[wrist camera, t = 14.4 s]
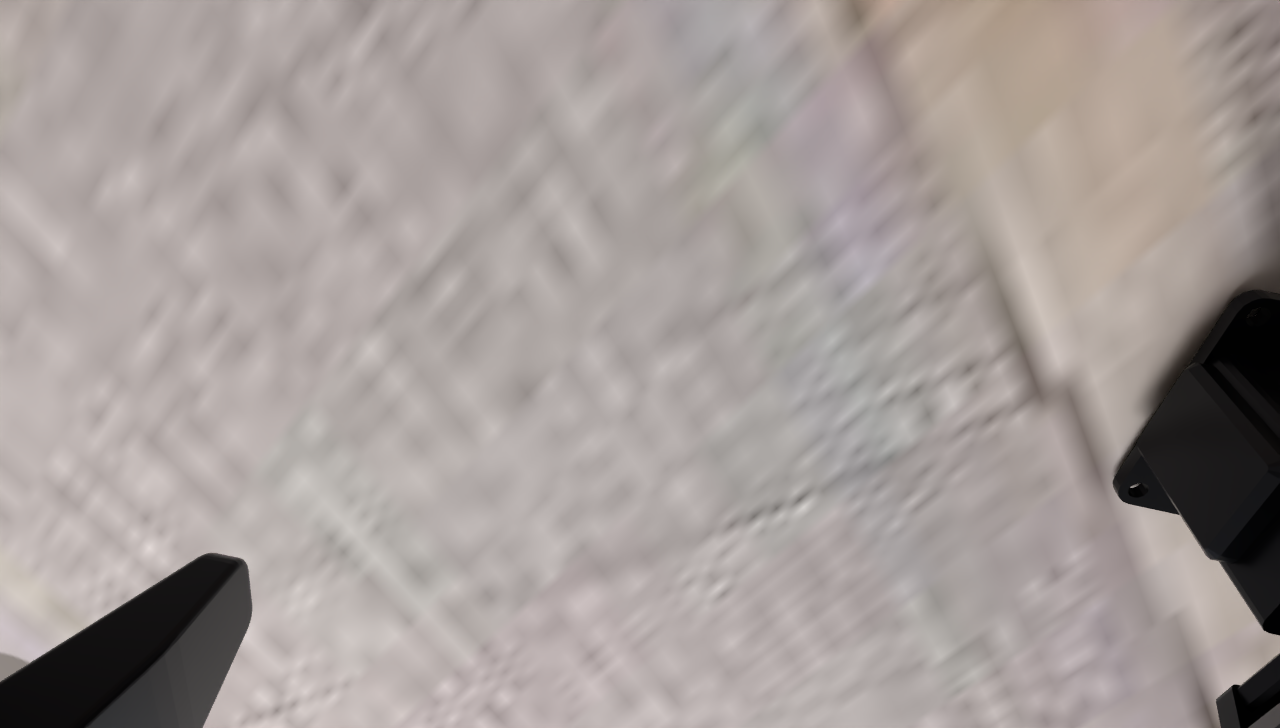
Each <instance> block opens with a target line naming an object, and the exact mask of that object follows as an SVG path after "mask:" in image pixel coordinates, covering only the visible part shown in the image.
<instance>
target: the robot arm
mask: <svg viewBox="0 0 1280 728" xmlns="http://www.w3.org/2000/svg"><path fill="white" fill-rule="evenodd" d="M1256 308H1261V310H1260V312H1259V313H1258V314H1257V315H1255V316H1253V317H1251V318H1247V315H1248V314H1249V313H1250V312H1251V311H1252V310H1254V309H1256ZM1137 483H1141V484H1140V485H1139V486H1137V487H1134V488H1130V487H1131V486H1132V485H1134V484H1137ZM1113 488H1114V489H1115V491H1116V493H1117V495H1118V496H1119V498H1120V499H1121V500H1122V501H1123V502H1125V503H1128V504H1132V505H1136V506H1141V507H1146V508H1150V509H1155V510H1159V511H1164V512H1169V513H1173V514H1178V515H1180V516H1181V517H1182V519H1183V520H1184V522H1185V523H1186V525H1187V527H1188V528H1189V530H1190V531H1191V533H1192V534H1193V536H1194V537H1195V539H1196V541H1197V542H1198V544H1199V545H1200V547H1201V548H1202V550H1203V551H1204V553H1205V555H1206V556H1207V557H1208V558H1210V559H1212V560H1216V561H1219V562H1220V564H1221V566H1222V567H1223V569H1224V570H1225V572H1226V573H1227V575H1228V576H1229V578H1230V579H1231V581H1232V582H1233V584H1234V585H1235V587H1236V588H1237V590H1238V592H1239V593H1240V595H1241V596H1242V598H1243V599H1244V601H1245V602H1246V604H1247V605H1248V607H1249V608H1250V610H1251V611H1252V613H1253V614H1254V616H1255V618H1256V619H1257V621H1258V622H1259V624H1260V625H1261V627H1262V628H1263V630H1264V631H1266V632H1268V633H1271V634H1276V635H1280V294H1276V293H1271V292H1267V291H1262V290H1252V291H1248V292H1245V293H1242V294H1241V295H1239V296H1237V297H1236V298H1235V299H1234V300H1233V301H1232V302H1231V303H1230V304H1229V305H1228V307H1227V308H1226V310H1225V311H1224V313H1223V314H1222V316H1221V317H1220V319H1219V320H1218V322H1217V323H1216V325H1215V326H1214V328H1213V329H1212V331H1211V332H1210V334H1209V336H1208V337H1207V339H1206V340H1205V342H1204V343H1203V345H1202V346H1201V348H1200V349H1199V351H1198V352H1197V354H1196V355H1195V357H1194V358H1193V360H1192V361H1191V363H1190V364H1189V366H1188V367H1187V368H1186V369H1185V370H1184V371H1183V372H1182V374H1181V375H1180V377H1179V378H1178V380H1177V381H1176V383H1175V384H1174V386H1173V387H1172V389H1171V390H1170V392H1169V393H1168V395H1167V396H1166V398H1165V399H1164V401H1163V402H1162V404H1161V405H1160V407H1159V408H1158V410H1157V411H1156V413H1155V414H1154V416H1153V417H1152V419H1151V421H1150V422H1149V424H1148V425H1147V427H1146V428H1145V430H1144V431H1143V433H1142V434H1141V436H1140V437H1139V439H1138V440H1137V443H1136V446H1135V447H1134V449H1133V450H1132V452H1131V453H1130V455H1129V456H1128V458H1127V459H1126V461H1125V462H1124V464H1123V465H1122V467H1121V468H1120V470H1119V471H1118V473H1117V474H1116V476H1115V477H1114V480H1113ZM251 616H252V599H251V590H250V580H249V571H248V566H247V564H246V562H245V561H244V560H243V559H241V558H237V557H232V556H227V555H222V554H218V553H207V554H204V555H202V556H200V557H198V558H196V559H195V560H193V561H192V562H190V563H188V564H187V565H185V566H184V567H182V568H181V569H179V570H177V571H176V572H174V573H173V574H171V575H169V576H168V577H166V578H165V579H163V580H161V581H160V582H158V583H157V584H155V585H153V586H152V587H150V588H149V589H147V590H145V591H144V592H142V593H141V594H139V595H138V596H136V597H134V598H133V599H131V600H130V601H128V602H126V603H125V604H123V605H122V606H120V607H118V608H117V609H115V610H114V611H112V612H110V613H109V614H107V615H106V616H104V617H102V618H101V619H99V620H98V621H96V622H95V623H93V624H91V625H90V626H88V627H87V628H85V629H83V630H82V631H80V632H79V633H77V634H75V635H74V636H72V637H71V638H69V639H67V640H66V641H64V642H63V643H61V644H59V645H58V646H56V647H55V648H53V649H52V650H50V651H48V652H47V653H45V654H44V655H42V656H40V657H39V658H37V659H36V660H34V661H32V662H31V663H29V664H28V665H26V666H25V667H23V668H21V669H20V670H18V671H16V672H15V673H13V674H12V675H10V676H8V677H7V678H5V679H4V680H2V681H1V682H0V728H203V726H204V723H205V721H206V719H207V717H208V715H209V713H210V710H211V708H212V706H213V704H214V702H215V699H216V697H217V695H218V693H219V691H220V688H221V686H222V684H223V682H224V680H225V677H226V675H227V673H228V671H229V669H230V667H231V664H232V662H233V660H234V658H235V656H236V653H237V651H238V649H239V647H240V645H241V642H242V640H243V638H244V636H245V634H246V631H247V629H248V627H249V623H250V620H251ZM1216 704H1217V709H1218V714H1219V720H1220V725H1221V728H1280V653H1279V654H1278V655H1277V656H1276V657H1274V658H1273V659H1272V660H1271V661H1270V662H1268V663H1267V664H1266V665H1265V666H1264V667H1262V668H1261V669H1260V670H1259V671H1258V672H1256V673H1255V674H1254V675H1253V676H1252V677H1250V678H1249V679H1248V680H1247V681H1246V682H1244V683H1243V684H1242V685H1241V686H1240V685H1233V686H1231V687H1230V688H1229V689H1228V690H1227V691H1225V692H1224V693H1223V694H1222V695H1221V696H1220V697H1218V698H1217V699H1216Z"/></svg>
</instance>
